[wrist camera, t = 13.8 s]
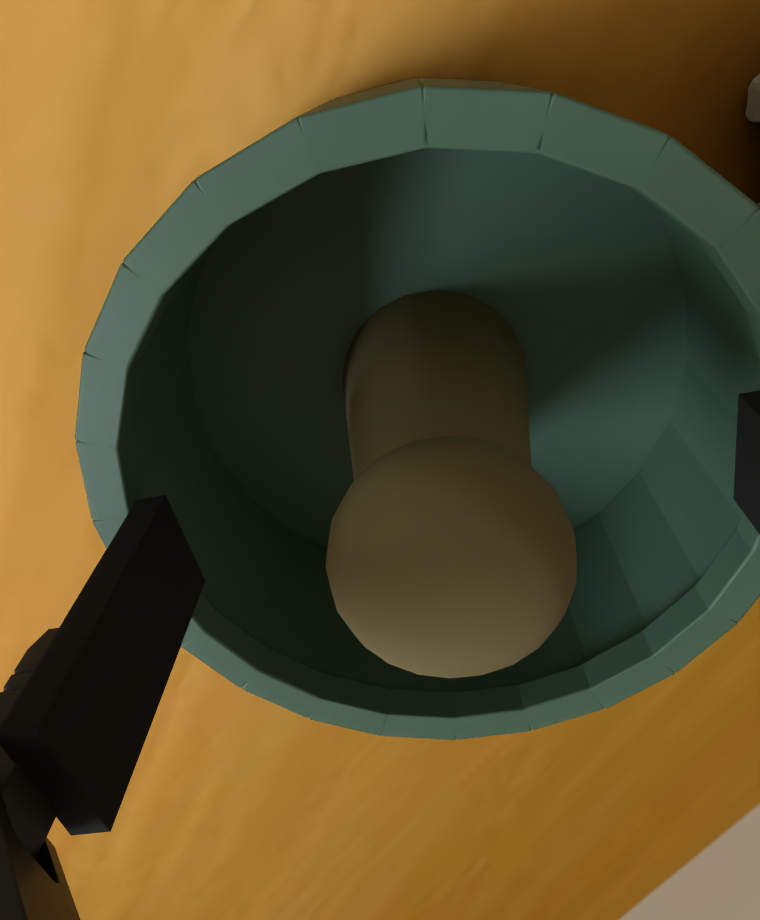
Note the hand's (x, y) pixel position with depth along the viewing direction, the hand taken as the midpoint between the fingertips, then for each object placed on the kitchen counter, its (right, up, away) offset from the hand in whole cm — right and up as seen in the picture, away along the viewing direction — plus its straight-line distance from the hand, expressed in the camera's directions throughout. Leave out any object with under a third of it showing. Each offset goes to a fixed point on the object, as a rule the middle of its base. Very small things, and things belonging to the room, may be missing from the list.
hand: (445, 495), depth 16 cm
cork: (0, +3, +7) cm, 8 cm away
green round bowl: (0, +4, +7) cm, 8 cm away
